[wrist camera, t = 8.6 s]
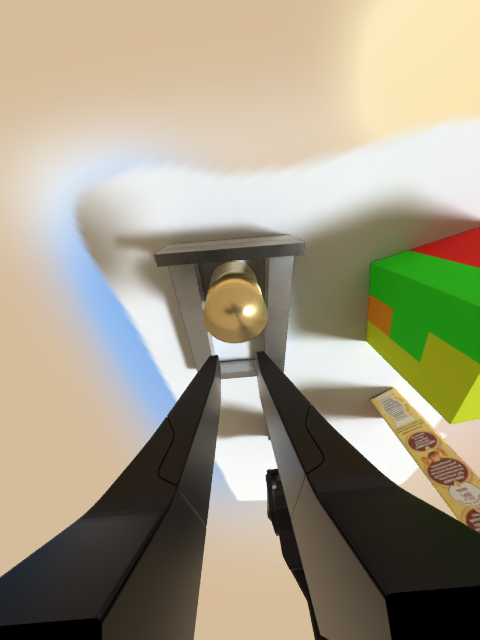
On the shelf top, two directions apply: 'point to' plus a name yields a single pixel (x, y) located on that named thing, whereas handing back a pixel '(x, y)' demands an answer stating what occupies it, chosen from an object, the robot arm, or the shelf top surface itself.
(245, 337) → the gold metal cylinder
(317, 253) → the shelf top surface
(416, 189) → the shelf top surface
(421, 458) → the candy box
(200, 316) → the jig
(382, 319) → the puzzle toy
